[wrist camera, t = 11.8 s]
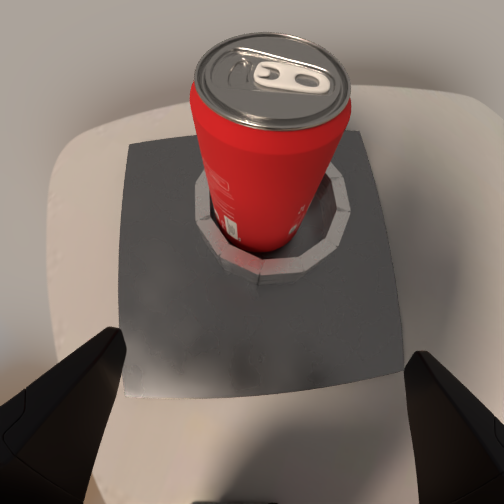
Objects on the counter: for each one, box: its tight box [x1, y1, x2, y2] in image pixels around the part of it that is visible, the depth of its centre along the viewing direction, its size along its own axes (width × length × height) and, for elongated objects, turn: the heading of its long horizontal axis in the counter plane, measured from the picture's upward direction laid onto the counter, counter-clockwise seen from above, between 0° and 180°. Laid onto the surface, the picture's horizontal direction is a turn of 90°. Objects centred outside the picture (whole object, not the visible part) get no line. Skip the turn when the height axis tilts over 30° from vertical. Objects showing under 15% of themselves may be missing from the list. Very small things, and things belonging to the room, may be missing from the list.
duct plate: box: [118, 131, 404, 399], centre depth 18 cm, size 18×18×4 cm
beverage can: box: [190, 32, 351, 253], centre depth 13 cm, size 5×5×12 cm
